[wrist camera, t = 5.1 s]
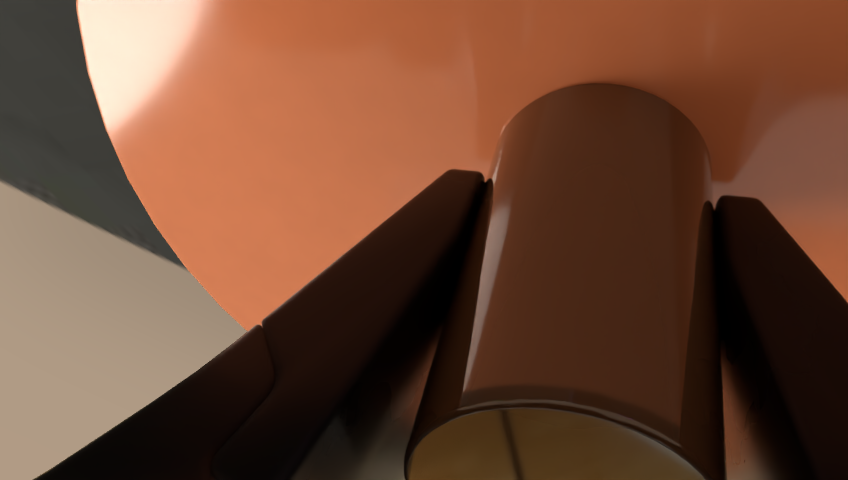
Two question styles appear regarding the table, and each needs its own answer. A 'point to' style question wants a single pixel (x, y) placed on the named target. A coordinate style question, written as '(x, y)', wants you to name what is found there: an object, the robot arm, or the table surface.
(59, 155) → the table surface
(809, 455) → the robot arm
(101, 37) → the pot lid
